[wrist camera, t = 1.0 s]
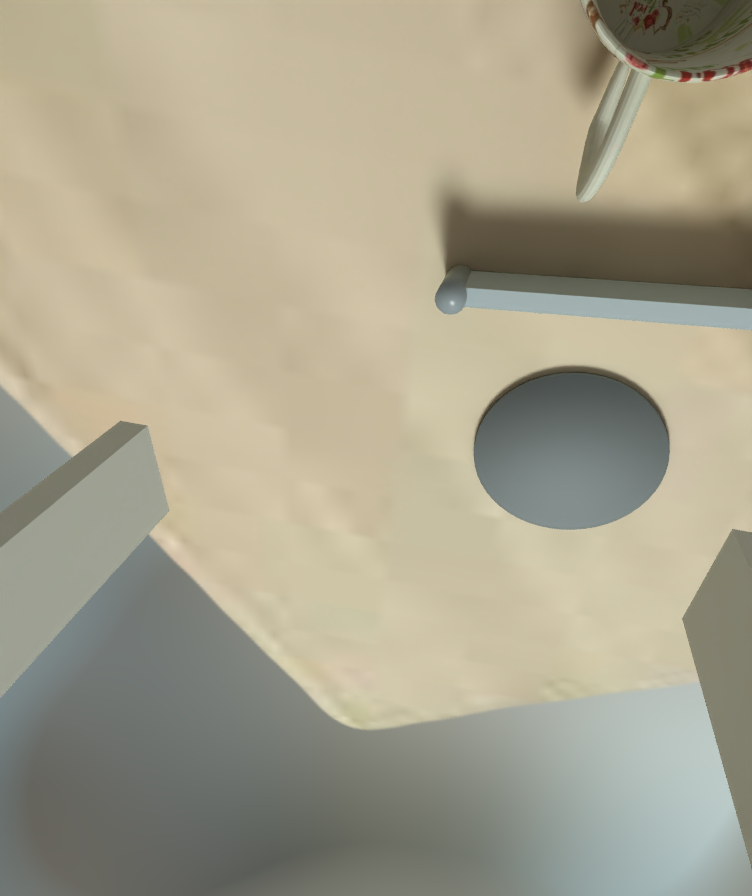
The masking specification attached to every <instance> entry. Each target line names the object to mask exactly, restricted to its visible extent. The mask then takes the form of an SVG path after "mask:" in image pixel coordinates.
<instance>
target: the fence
mask: <svg viewBox="0 0 752 896" xmlns="http://www.w3.org/2000/svg"><path fill="white" fill-rule="evenodd" d="M435 303H436V305H437V307H438V309H439V310H440V311H441V312H443V313H445V314H456V313H458V312H460V311H461V310H462V309H463V307H471V308H484V309H496V310H508V311H521V312H533V313H545V314H558V315H570V316H582V317H595V318H607V319H619V320H632V321H644V322H657V323H669V324H681V325H694V326H706V327H718V328H731V329H743V330H752V289H739V288H724V287H709V286H694V285H679V284H664V283H649V282H633V281H618V280H603V279H588V278H573V277H558V276H542V275H527V274H512V273H497V272H482V271H471V269H470V268H469V267H467V266H465V265H456V266H454V267H452V268H451V269H450V270H449V271H448V273H447V275H446V277H445V278H444V280H443V282H442V284H441V285H440V287H439V289H438V291H437V293H436V296H435Z"/></svg>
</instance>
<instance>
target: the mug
mask: <svg viewBox="0 0 752 896" xmlns="http://www.w3.org/2000/svg"><path fill="white" fill-rule="evenodd" d="M581 3H582V6H583V8H584V11H585V14H586V16H587V19H588V21H589V23H590V25H591V26H592V28H593V30H594V32H595V33H596V35H597V36H598V38H599V39H600V41H601V42H602V43H603V45H604V46H605V47H606V48H607V49H608V50H609V51H610V52H611V53H612V54H613V55H614V56H615V57H616V58H617V59H619V60H620V61H619V63H618V65H617V67H616V69H615V71H614V73H613V75H612V77H611V79H610V82H609V84H608V86H607V88H606V91H605V93H604V95H603V98H602V100H601V102H600V105H599V107H598V109H597V111H596V114H595V116H594V118H593V120H592V123H591V125H590V128H589V131H588V135H587V138H586V142H585V147H584V152H583V156H582V161H581V166H580V171H579V176H578V181H577V188H576V196H577V199H578V200H579V201H581V202H586V201H588V200H590V199H591V198H592V197H593V196H594V195H595V194H596V192H597V191H598V190H599V188H600V187H601V186H602V184H603V182H604V181H605V179H606V177H607V176H608V174H609V172H610V170H611V168H612V167H613V165H614V163H615V161H616V159H617V157H618V155H619V153H620V151H621V148H622V146H623V144H624V142H625V139H626V137H627V135H628V132H629V130H630V128H631V125H632V123H633V121H634V118H635V116H636V114H637V111H638V109H639V107H640V104H641V102H642V99H643V97H644V95H645V92H646V90H647V87H648V85H649V83H650V80H651V78H652V77H653V78H656V79H661V80H665V81H670V82H681V83H695V82H707V81H713V80H718V79H723V78H727V77H731V76H734V75H737V74H741V73H744V72H746V71H749V70H752V0H581ZM629 68H632V69H631V72H630V74H629V77H628V79H627V82H626V85H625V87H624V84H625V81H626V77H627V74H628V71H629ZM623 87H624V90H623V92H622V89H623ZM621 92H622V95H621ZM620 95H621V97H620ZM619 98H620V100H619ZM618 101H619V102H618ZM617 104H618V105H617Z"/></svg>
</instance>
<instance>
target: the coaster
mask: <svg viewBox="0 0 752 896" xmlns="http://www.w3.org/2000/svg"><path fill="white" fill-rule="evenodd" d="M669 452H670V451H669V440H668V436H667V432H666V429H665V426H664V424H663V422H662V420H661V417H660V416H659V414H658V413H657V411H656V410H655V408H654V407H653V406H652V405H651V404H650V403H649V401H648V400H647V399H646V398H645V397H643V396H642V395H641V394H640V393H638V392H637V391H636V390H634V389H632V388H631V387H629V386H627V385H626V384H624V383H621V382H619V381H617V380H614V379H612V378H608V377H605V376H601V375H596V374H590V373H578V372H569V373H557V374H551V375H546V376H542V377H539V378H536V379H532V380H530V381H528V382H525V383H523V384H521V385H519V386H517V387H516V388H514V389H512V390H511V391H509V392H508V393H506V394H505V395H504V396H503V397H501V398H500V399H499V400H498V401H497V402H496V403H495V404H494V405H493V406H492V407H491V408H490V410H489V411H488V412H487V414H486V415H485V417H484V419H483V420H482V422H481V424H480V427H479V429H478V432H477V436H476V440H475V445H474V462H475V468H476V471H477V475H478V477H479V479H480V482H481V484H482V485H483V487H484V489H485V490H486V492H487V493H488V494H489V495H490V497H491V498H492V499H493V500H494V501H495V502H496V503H497V504H498V505H499V506H500V507H502V508H503V509H505V510H506V511H507V512H509V513H510V514H512V515H514V516H516V517H517V518H519V519H522V520H524V521H526V522H529V523H532V524H535V525H538V526H543V527H547V528H554V529H569V530H574V529H586V528H592V527H597V526H601V525H604V524H608V523H610V522H613V521H616V520H618V519H620V518H622V517H624V516H626V515H628V514H630V513H631V512H633V511H634V510H636V509H637V508H639V507H640V506H641V505H642V504H643V503H644V502H646V501H647V500H648V499H649V498H650V497H651V495H652V494H653V493H654V492H655V491H656V489H657V488H658V486H659V485H660V483H661V481H662V479H663V477H664V475H665V473H666V469H667V466H668V462H669Z"/></svg>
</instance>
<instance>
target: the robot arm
mask: <svg viewBox="0 0 752 896" xmlns="http://www.w3.org/2000/svg"><path fill="white" fill-rule="evenodd" d="M168 512H169V507H168V503H167V499H166V495H165V492H164V488H163V484H162V480H161V476H160V472H159V468H158V464H157V461H156V457H155V453H154V449H153V445H152V441H151V437H150V433H149V429H148V426H146V425H140V424H135V423H129V422H123V421H120V422H118V423H117V424H116V425H115V426H113V427H112V428H111V429H109V430H108V431H107V432H105V433H104V434H103V435H101V436H100V437H99V438H98V439H96V440H95V441H94V442H92V443H91V444H90V445H88V446H87V447H86V448H84V449H83V450H82V451H81V452H79V453H78V454H77V455H75V456H74V457H73V458H71V459H70V460H69V461H67V462H66V463H65V464H64V465H62V466H61V467H60V468H58V469H57V470H56V471H54V472H53V473H52V474H50V475H49V476H48V477H47V478H45V479H44V480H43V481H41V482H40V483H39V484H38V485H36V486H35V487H33V488H32V489H31V490H30V491H28V492H27V493H26V494H24V495H23V496H22V497H20V498H19V499H18V500H17V501H15V502H14V503H13V504H11V505H10V506H9V507H7V508H6V509H5V510H3V511H2V512H1V513H0V698H1V696H2V695H3V694H4V693H5V692H6V691H7V690H8V689H9V688H10V687H11V685H12V684H13V683H14V682H15V681H16V680H17V679H18V678H19V676H20V675H21V674H22V673H23V672H24V671H25V670H26V669H27V668H28V667H29V666H30V664H31V663H32V662H33V661H34V660H35V659H36V658H37V657H38V656H39V654H40V653H41V652H42V651H43V650H44V649H45V648H46V647H47V646H48V644H49V643H50V642H51V641H52V640H53V639H54V638H55V637H56V636H57V635H58V633H59V632H60V631H61V630H62V629H63V628H64V626H66V625H67V623H68V622H69V621H70V620H71V619H72V618H73V617H74V616H75V615H76V613H77V612H78V611H79V610H80V609H81V608H82V607H83V606H84V605H85V603H86V602H87V601H88V600H89V599H90V598H91V597H92V596H93V595H94V593H95V592H96V591H97V590H98V589H99V588H100V587H101V586H102V585H103V584H104V582H105V581H106V580H107V579H108V578H109V577H110V576H111V575H112V573H113V572H114V571H115V570H116V569H117V568H118V567H119V566H120V565H121V563H122V562H123V561H124V560H125V559H126V558H127V557H128V556H129V555H130V554H131V553H132V551H133V550H134V549H135V548H136V547H137V546H138V545H139V544H140V542H141V541H142V540H143V539H144V538H145V537H146V536H147V535H148V534H149V533H150V531H151V530H152V529H153V528H154V527H155V526H156V525H157V524H158V523H159V521H160V520H161V519H162V518H163V517H164V516H165V515H166V514H167V513H168ZM682 619H683V623H684V627H685V630H686V634H687V637H688V641H689V645H690V648H691V652H692V655H693V659H694V663H695V666H696V670H697V673H698V677H699V681H700V684H701V688H702V691H703V695H704V699H705V702H706V706H707V709H708V713H709V717H710V720H711V724H712V727H713V731H714V735H715V738H716V742H717V745H718V749H719V752H720V756H721V760H722V763H723V767H724V771H725V774H726V778H727V781H728V785H729V789H730V792H731V796H732V799H733V803H734V806H735V810H736V814H737V817H738V821H739V824H740V828H741V832H742V835H743V839H744V842H745V846H746V850H747V853H748V857H749V860H750V864H751V868H752V532H746V531H740V530H735V529H732V531H731V532H730V534H729V536H728V538H727V540H726V541H725V543H724V545H723V547H722V548H721V550H720V552H719V554H718V556H717V557H716V559H715V561H714V563H713V565H712V566H711V568H710V570H709V572H708V573H707V575H706V577H705V579H704V581H703V582H702V584H701V586H700V588H699V590H698V591H697V593H696V595H695V597H694V598H693V600H692V602H691V604H690V606H689V607H688V609H687V611H686V613H685V615H684V616H683V618H682Z"/></svg>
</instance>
